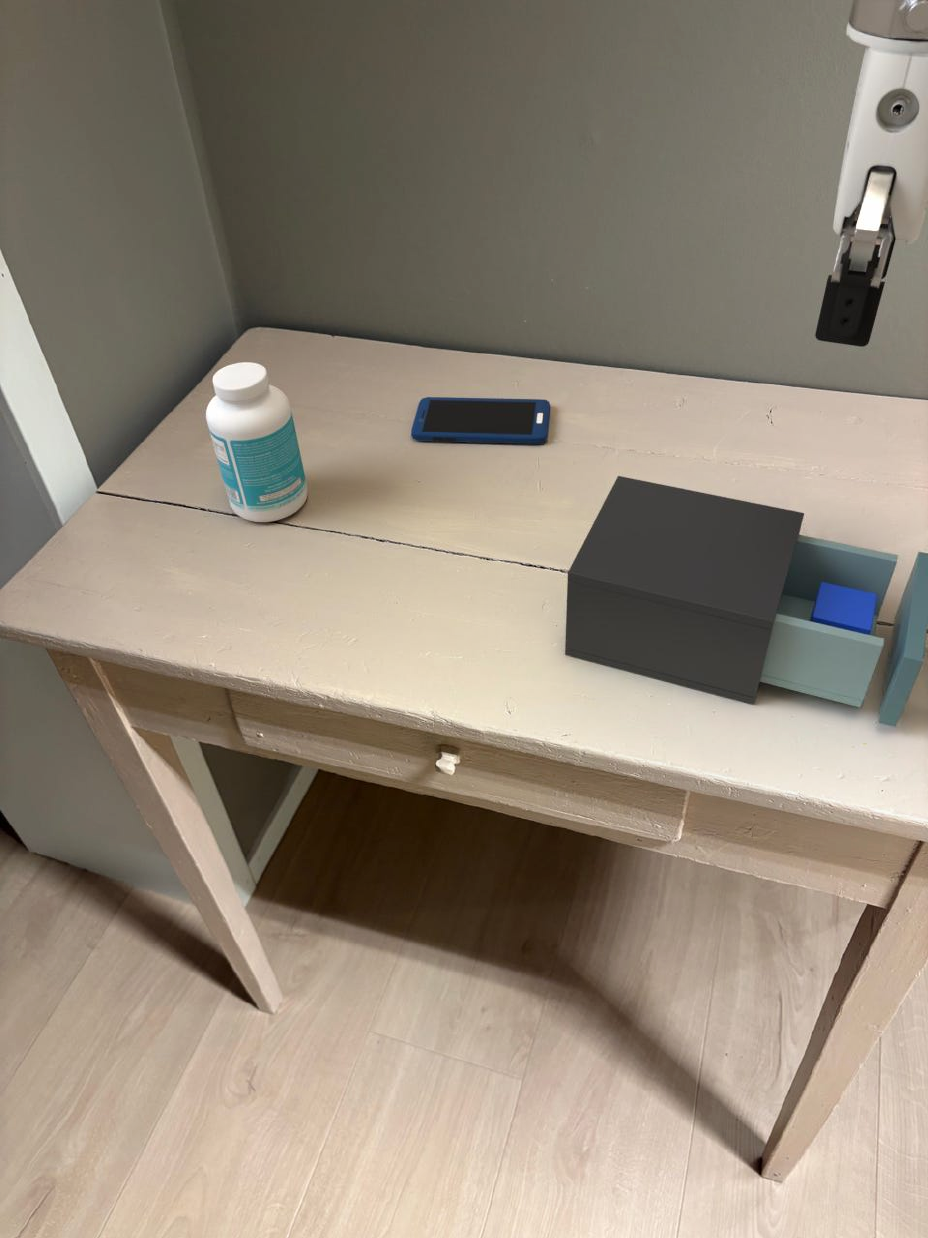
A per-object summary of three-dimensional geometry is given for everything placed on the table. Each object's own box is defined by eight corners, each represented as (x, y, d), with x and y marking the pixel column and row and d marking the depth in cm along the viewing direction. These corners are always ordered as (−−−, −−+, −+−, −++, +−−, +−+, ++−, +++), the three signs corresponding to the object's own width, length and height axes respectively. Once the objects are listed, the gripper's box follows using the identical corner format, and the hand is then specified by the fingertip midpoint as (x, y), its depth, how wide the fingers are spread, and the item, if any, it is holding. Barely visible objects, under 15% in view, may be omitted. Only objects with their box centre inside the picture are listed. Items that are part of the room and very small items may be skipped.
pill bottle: (322, 485, 93) (298, 359, 83) (287, 532, 88) (258, 403, 78) (253, 473, 95) (223, 349, 85) (216, 518, 90) (179, 391, 80)
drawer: (979, 637, 73) (1010, 569, 68) (972, 747, 66) (1006, 680, 61) (735, 581, 79) (749, 516, 74) (704, 677, 71) (716, 611, 67)
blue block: (864, 632, 72) (877, 593, 70) (857, 669, 70) (871, 630, 67) (809, 619, 74) (820, 581, 71) (801, 655, 71) (812, 616, 68)
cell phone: (547, 444, 96) (547, 438, 95) (409, 441, 97) (409, 434, 97) (551, 405, 101) (551, 398, 100) (420, 402, 103) (420, 396, 102)
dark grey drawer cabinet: (783, 596, 79) (804, 512, 73) (753, 705, 70) (774, 621, 64) (611, 556, 83) (618, 475, 77) (564, 655, 75) (567, 572, 69)
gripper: (997, 51, 44) (898, 381, 56) (1007, -30, 55) (923, 260, 67) (829, 42, 47) (768, 361, 59) (871, -33, 58) (813, 247, 70)
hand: (851, 306), depth 63 cm, fingers open, 9 cm apart
